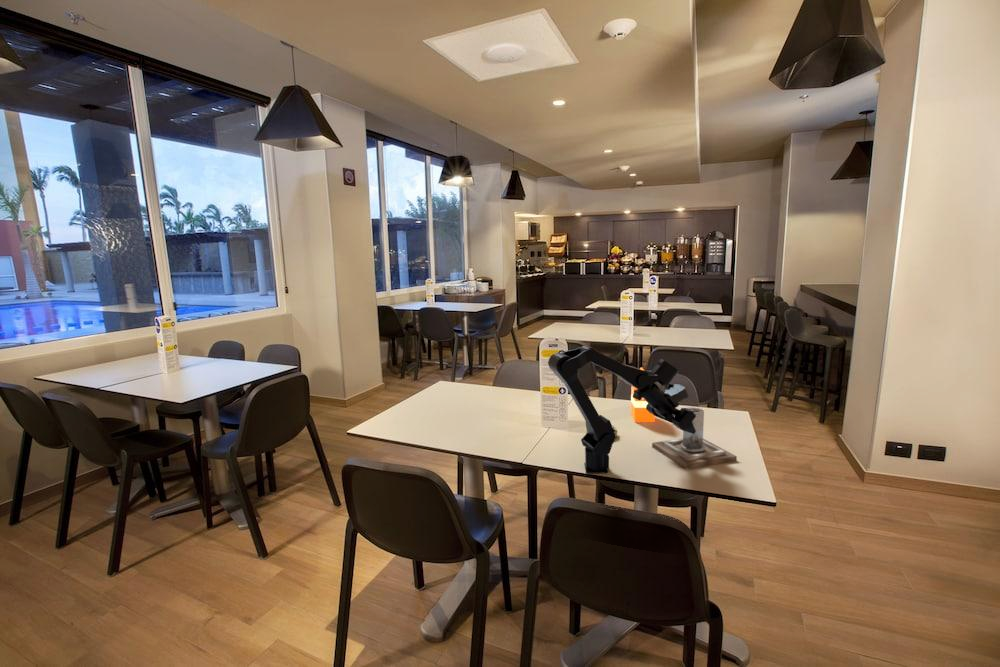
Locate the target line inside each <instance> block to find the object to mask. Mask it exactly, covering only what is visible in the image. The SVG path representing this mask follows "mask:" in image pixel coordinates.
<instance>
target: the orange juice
mask: <svg viewBox="0 0 1000 667" xmlns="http://www.w3.org/2000/svg"><path fill="white" fill-rule="evenodd" d="M639 369H641V370H644V368H643V367H640V368H639ZM630 386H631V385H630ZM630 390H631V392H630V393H631V394H630V416H631V417H632V420H633V419H634V420H633V422H634V421H635V422H655V421H656V419H655V418H656V416H654V415H653V414H651V413H649V412H648V411H647V410H646V405H647V404H648V403H647V402H646V401H645V400H644V399H643V398H642V399H641V400H640V401H639V400H637V399H635V398H633V393H634V390H637V388H635V387H633V386H631V388H630ZM635 422H634V423H635ZM655 423H656V422H655Z"/></svg>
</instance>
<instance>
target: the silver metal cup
mask: <svg viewBox="0 0 1000 667" xmlns="http://www.w3.org/2000/svg"><path fill="white" fill-rule="evenodd" d="M686 408H687V409H689V410H691V411H693V412H694V413H695V414H696V417H695V419H694V420H693V421H692V423H693V426H694V428H695V430H696V432H695V433H694V434H692V433H689V432H686V431H683V430H682V438H683V443H681V450H682V451H684V452H687V453H692V454H699V453H703V452H704V451H705V446H704V445H703V439H704V422H705V421H704V420H705V411H704V410H703V409H702V408H700V407H699V408H698V407H686Z"/></svg>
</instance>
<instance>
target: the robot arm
mask: <svg viewBox="0 0 1000 667" xmlns="http://www.w3.org/2000/svg"><path fill="white" fill-rule="evenodd" d="M588 363H592V364H594V365H596V366H598V367H599V368H602V369H604V370H606V371H608V372H611V373H613V374H614V375H615V376H616V377H618V378H619V379H620V380H621V381H622V382H624V383H625V384H626V385H629V386H633V387H635V388H637V390H634V393H633V398H635V399H637V400H639V401H640V400H641V399H642V398H643V399H644V400H645V401H646V402H647V403H648V404H647V405H646V410H647V411H648V412H649V413H651V414H653V415H654V416H655V418H659V419H662V420H664V421H666V422H668V423H671V424H672V425H674V426H675V428H677V429H678V430H680V431H682V432H683V431H686V432H689V433H692V434H694V433H695V432H696V430H695V428H694V426H693V423H692V421H693V420H694V419H695V417H696V414H695V413H694V412H693V411H691V410H689V409H687V408H688V407H682V408H680V409H679V408H678V407H679V405H680V402H682V401H684V400H685V399H687V398H688V397H689V393H688V391H687V389H686V387H685V386H683V385H682V384H675V383H674V384H672V381H674V379H675V378H676V376H677V375H678V374H679V370H678V369H677V368H676V366H673V365H672V364H670V363H669V362H667V361H666V360H665V359H662V358H661V359H659V360H658V361H657V363H656V364H655V366H654V367H653V368H652V370H651V371H649V370H645V369H643V370H641V369H640V368H638V367H635V366H632V365H628V364H624V363H621V362H620V361H617V360H615V359H613V358H611V357H609V356H607V355H606V354H603V353H602V352H599V351H597V350H596V349H595V348H593V347H590V346H589V345H588V346H587V345H583V346H579V347H578V348H575V349H570V350H566V351H562V352H558V351H557V352H554V353H553V354H552V355H550V357H549V358H548V362H547V365H548V367H549V369H550V371H552V372H553V374H554V375H555V376H556V377H557V378H558V379H559V380H560V381H561V382H562V383H563V385H564V386H565V387H566V389H567V391H568V393H569V394H570V396H571V398H572V399H573V401H574V403H575V405H576V406H577V408H578V410H579V412H580V414H581V415H582V417H583V419H584V420H585V428H586V429H587V430H586V433H585V435H584V436H583V437H582V438H581V439H580V442H581V444H582V446H583V447H584V463H583V464H584V469H585V473H586V474H608V473H609V469H610V461H609V460H610V456H609V454H610V453H611V450H612V447H613V444H614V442H615V440H616V438H617V437H616V436H617V435H615V433H614V432H616V430H614V429H613V427H612V423H611V421H610V419H608V418H606V417H605V416H603V415H601V414H599V413H598V411H597V408H595V406H594V404H593V402H592V400H591V399H590V397H589V395H588V393H587V391H586V390H585V387H584V386H583V384H582V383H581V381H580V379H579V378H580V377H579V371H578V370H579V369H581V368H583V367H584V366H585V365H586V364H588ZM663 386H664V391H663V390H662V389H661V388H662V387H663ZM660 387H661V388H660ZM587 431H588V432H587Z"/></svg>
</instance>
